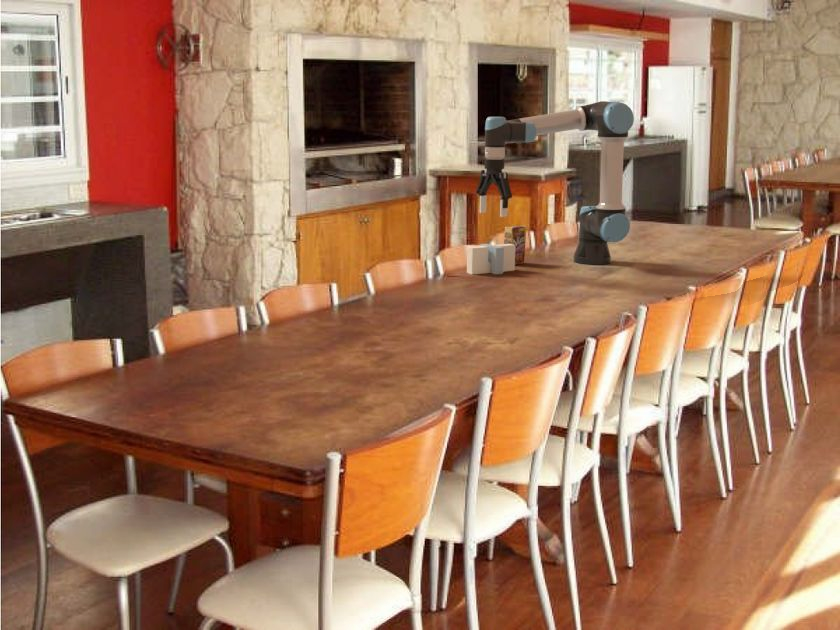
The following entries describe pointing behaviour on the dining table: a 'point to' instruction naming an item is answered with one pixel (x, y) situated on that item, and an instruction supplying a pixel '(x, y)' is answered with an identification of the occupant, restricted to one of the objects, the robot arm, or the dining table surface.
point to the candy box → (516, 241)
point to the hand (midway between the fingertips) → (493, 214)
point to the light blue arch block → (495, 258)
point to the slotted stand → (479, 259)
